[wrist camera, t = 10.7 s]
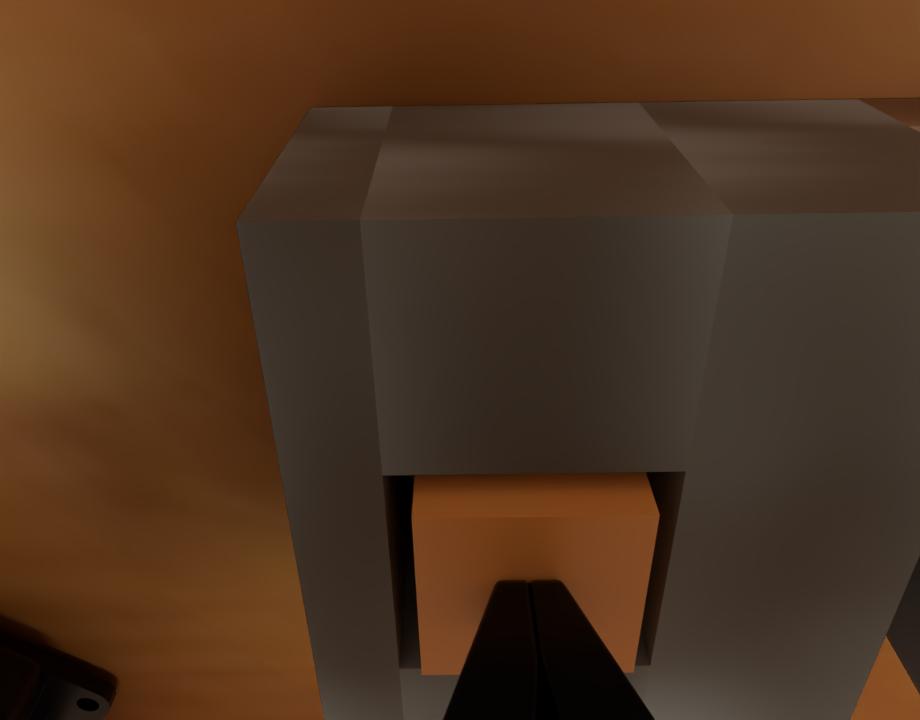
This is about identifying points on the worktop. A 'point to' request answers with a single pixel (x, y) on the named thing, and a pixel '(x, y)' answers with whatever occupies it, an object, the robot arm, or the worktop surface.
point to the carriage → (908, 628)
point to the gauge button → (530, 552)
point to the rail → (605, 371)
